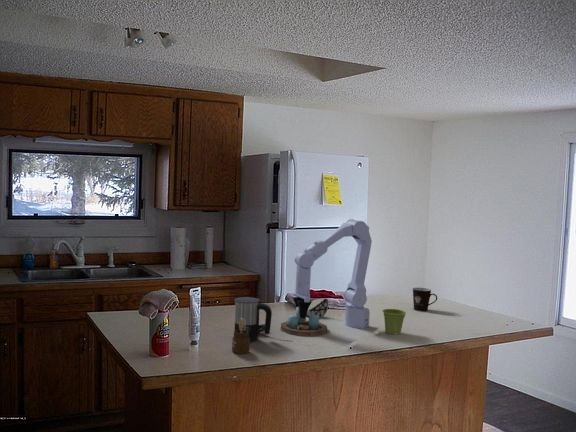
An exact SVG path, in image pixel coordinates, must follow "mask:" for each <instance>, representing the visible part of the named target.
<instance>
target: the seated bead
mask: <svg viewBox="0 0 576 432" xmlns="http://www.w3.org/2000/svg"><path fill="white" fill-rule="evenodd" d="M308 321H309V329H310V330H318V329H319V323H320V317H319V316H317V315H310V316H308Z"/></svg>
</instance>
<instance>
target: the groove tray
mask: <svg viewBox="0 0 576 432" xmlns="http://www.w3.org/2000/svg"><path fill="white" fill-rule="evenodd" d="M287 323H288V320H287V321H284V322H281V323H280V330H281V331H282V333H286V334H289V335H293V336H294V335H295V336H300V337H301V336H302V337H303V336H304V337H315V336H323V335H325V334H327V333H328V326H327V325H326V324H324V323H322V322H319V329H318V330H310V329H309V320H306V321H298V328H297V330H296V329H291V328H289V327H287Z"/></svg>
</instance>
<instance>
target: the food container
mask: <svg viewBox="0 0 576 432" xmlns="http://www.w3.org/2000/svg"><path fill="white" fill-rule="evenodd" d="M310 301H311V302H312V303H311V304H310V306H309V308H308V311H307V315H306V317H307V316H308V317H309V316H310V315H317V316H319V318H323V317H324V316H325V315H326V313H327V312H328V310H329V309H328V308H329V299H328V298H326V297H325V298H310Z"/></svg>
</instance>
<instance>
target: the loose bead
mask: <svg viewBox="0 0 576 432" xmlns="http://www.w3.org/2000/svg"><path fill="white" fill-rule="evenodd" d="M295 316H298V321H307V319H306V318H307V317H306V318H300V314H299V307H296V306H295Z"/></svg>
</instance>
